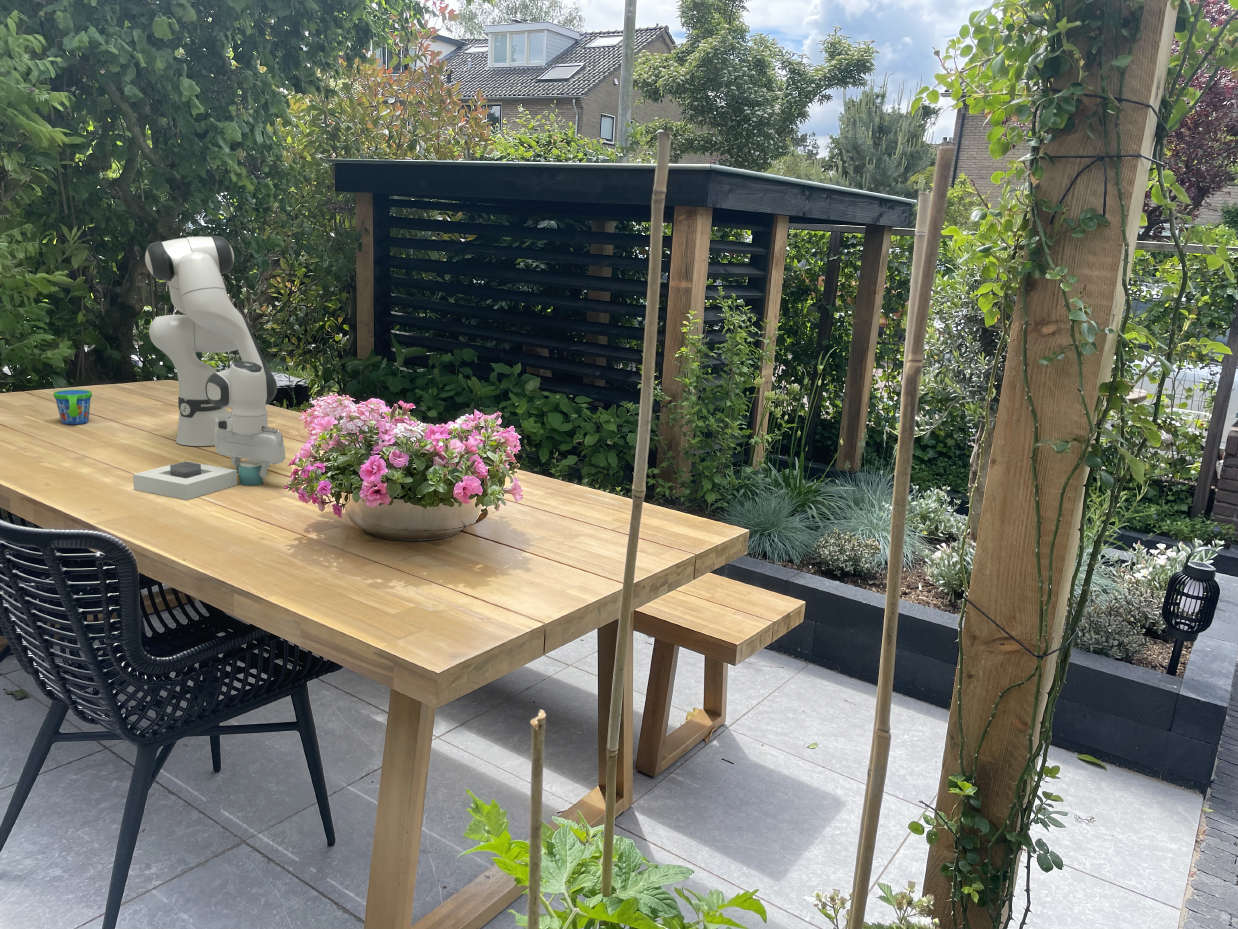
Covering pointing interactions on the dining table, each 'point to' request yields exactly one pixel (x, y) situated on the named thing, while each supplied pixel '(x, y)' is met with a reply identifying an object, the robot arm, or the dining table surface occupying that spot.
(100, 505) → the dining table surface
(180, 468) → the block
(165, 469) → the tray
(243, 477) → the teal pot
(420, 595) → the dining table surface
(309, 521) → the dining table surface
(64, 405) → the snack cup
